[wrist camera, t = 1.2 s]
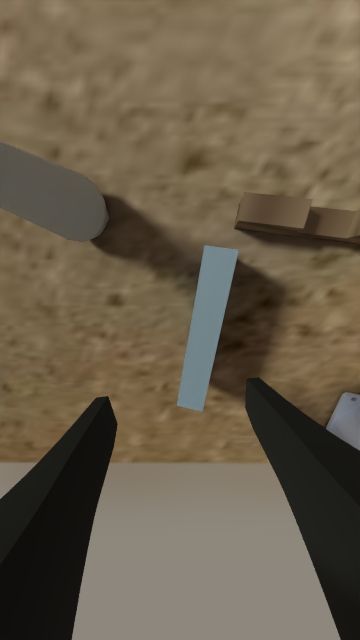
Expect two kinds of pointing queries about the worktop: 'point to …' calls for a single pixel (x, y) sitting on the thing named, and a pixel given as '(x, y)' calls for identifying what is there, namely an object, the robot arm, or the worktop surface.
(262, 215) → the walnut slotted board
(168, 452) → the worktop surface
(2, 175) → the salt shaker
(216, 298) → the slate-blue slotted board
